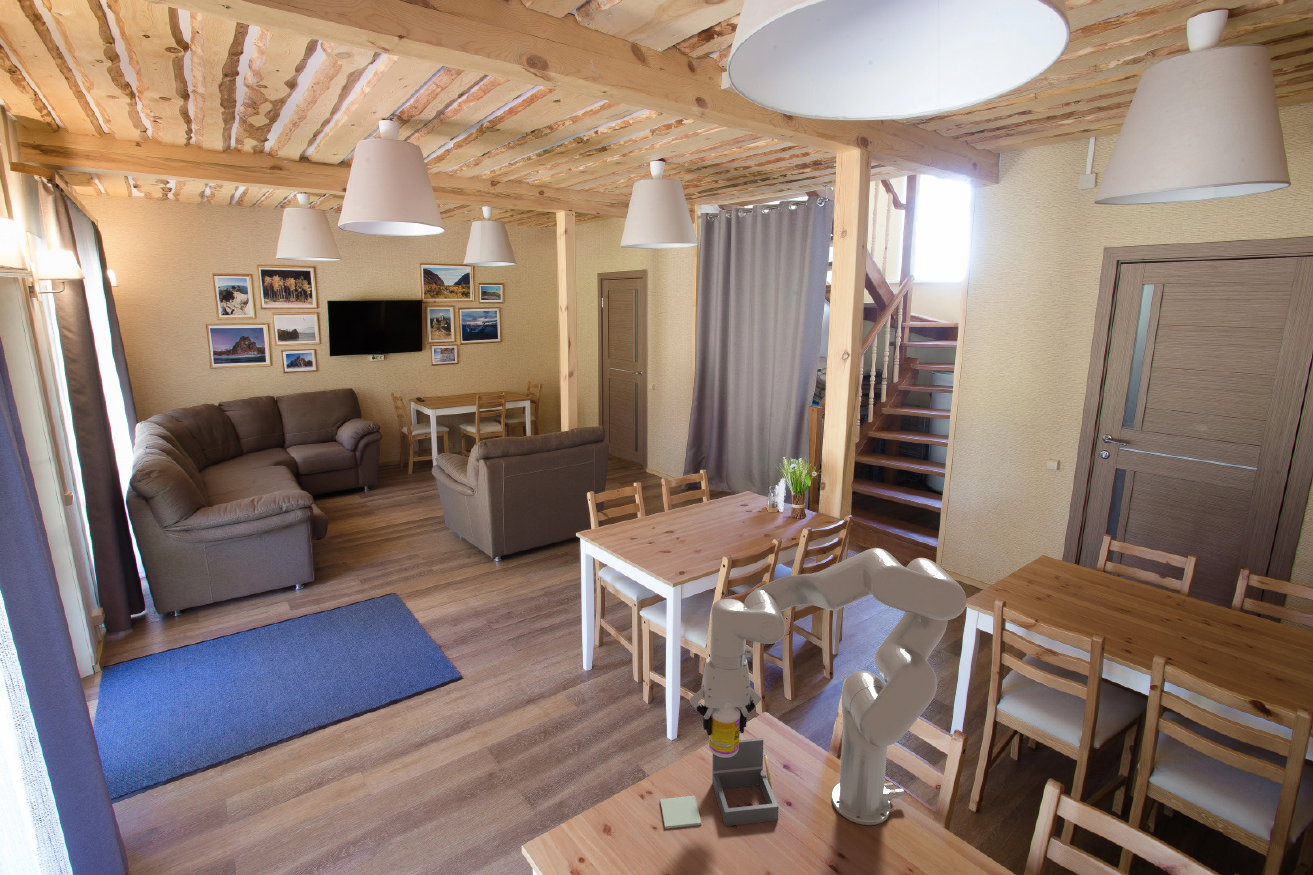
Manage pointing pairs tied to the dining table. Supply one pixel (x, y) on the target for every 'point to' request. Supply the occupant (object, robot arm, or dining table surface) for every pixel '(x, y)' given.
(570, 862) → the dining table surface
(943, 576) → the robot arm
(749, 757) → the case
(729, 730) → the supplement bottle
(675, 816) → the rest pad
